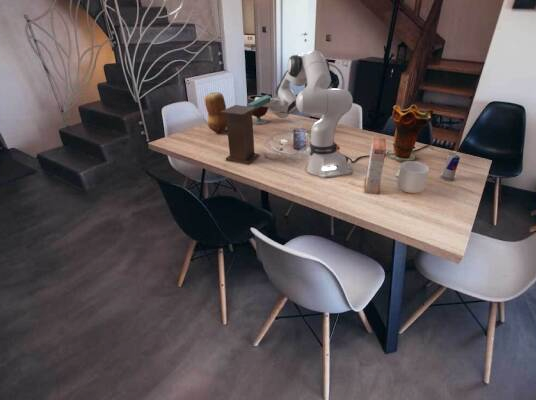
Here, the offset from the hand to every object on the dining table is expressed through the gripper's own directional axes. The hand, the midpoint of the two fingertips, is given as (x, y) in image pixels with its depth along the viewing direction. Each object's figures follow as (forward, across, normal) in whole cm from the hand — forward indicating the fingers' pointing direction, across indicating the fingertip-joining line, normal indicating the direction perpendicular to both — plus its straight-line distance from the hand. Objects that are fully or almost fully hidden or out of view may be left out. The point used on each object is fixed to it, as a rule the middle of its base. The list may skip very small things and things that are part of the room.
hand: (266, 98), depth 177 cm
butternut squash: (-12, -34, +22) cm, 43 cm away
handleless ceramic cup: (+15, +87, +37) cm, 95 cm away
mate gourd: (-39, -21, +6) cm, 45 cm away
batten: (+6, 0, +6) cm, 8 cm away
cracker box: (+18, +70, +39) cm, 82 cm away
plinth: (+14, 0, +37) cm, 40 cm away
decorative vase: (-19, +80, +18) cm, 84 cm away
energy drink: (-1, +103, +28) cm, 107 cm away
